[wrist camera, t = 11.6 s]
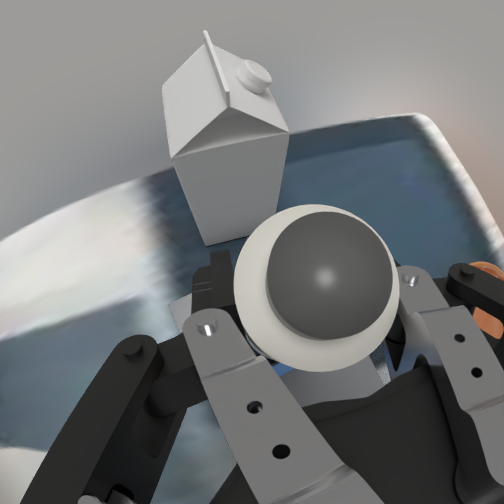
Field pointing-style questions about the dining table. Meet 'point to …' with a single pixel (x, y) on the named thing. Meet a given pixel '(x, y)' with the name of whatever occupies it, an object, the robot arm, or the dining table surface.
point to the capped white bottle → (316, 288)
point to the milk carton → (225, 141)
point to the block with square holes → (309, 372)
